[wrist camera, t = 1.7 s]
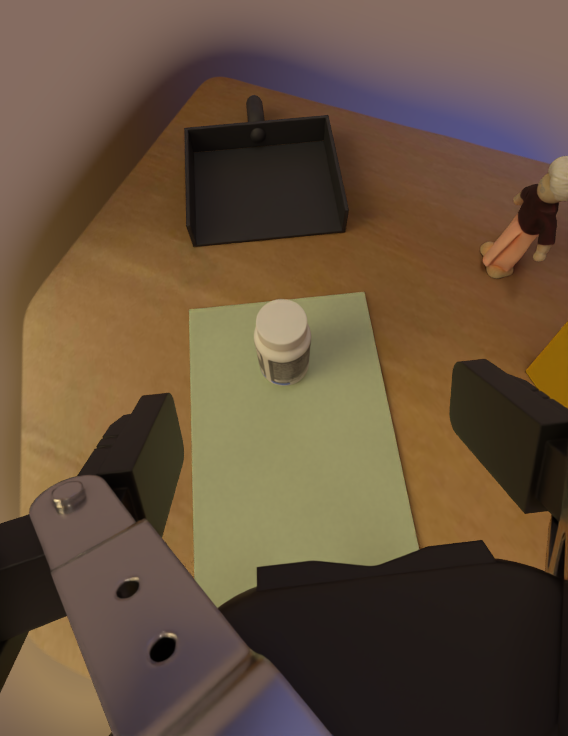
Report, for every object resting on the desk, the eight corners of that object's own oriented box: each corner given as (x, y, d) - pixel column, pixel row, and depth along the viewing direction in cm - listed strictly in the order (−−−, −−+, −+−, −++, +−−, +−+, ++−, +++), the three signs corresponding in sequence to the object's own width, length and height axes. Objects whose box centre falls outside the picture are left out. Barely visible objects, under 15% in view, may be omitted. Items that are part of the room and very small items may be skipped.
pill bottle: (318, 356, 39) (324, 312, 31) (291, 396, 37) (291, 360, 29) (276, 333, 40) (273, 284, 32) (249, 370, 38) (238, 329, 30)
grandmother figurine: (465, 240, 44) (529, 133, 32) (498, 233, 44) (573, 125, 32) (495, 299, 41) (577, 206, 29) (530, 291, 41) (625, 196, 30)
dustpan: (344, 232, 45) (349, 210, 41) (193, 247, 44) (186, 225, 41) (319, 107, 52) (321, 81, 49) (190, 119, 52) (183, 93, 49)
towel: (429, 602, 31) (430, 602, 31) (196, 630, 31) (195, 631, 30) (363, 293, 42) (364, 291, 41) (189, 310, 41) (188, 309, 41)
